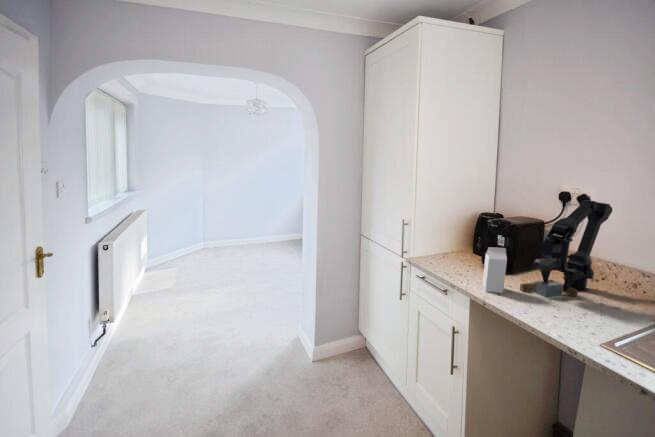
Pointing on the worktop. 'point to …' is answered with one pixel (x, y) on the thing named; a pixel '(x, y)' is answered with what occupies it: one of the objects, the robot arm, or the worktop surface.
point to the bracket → (548, 288)
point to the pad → (550, 297)
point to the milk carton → (494, 270)
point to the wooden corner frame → (530, 286)
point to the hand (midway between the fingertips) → (554, 287)
